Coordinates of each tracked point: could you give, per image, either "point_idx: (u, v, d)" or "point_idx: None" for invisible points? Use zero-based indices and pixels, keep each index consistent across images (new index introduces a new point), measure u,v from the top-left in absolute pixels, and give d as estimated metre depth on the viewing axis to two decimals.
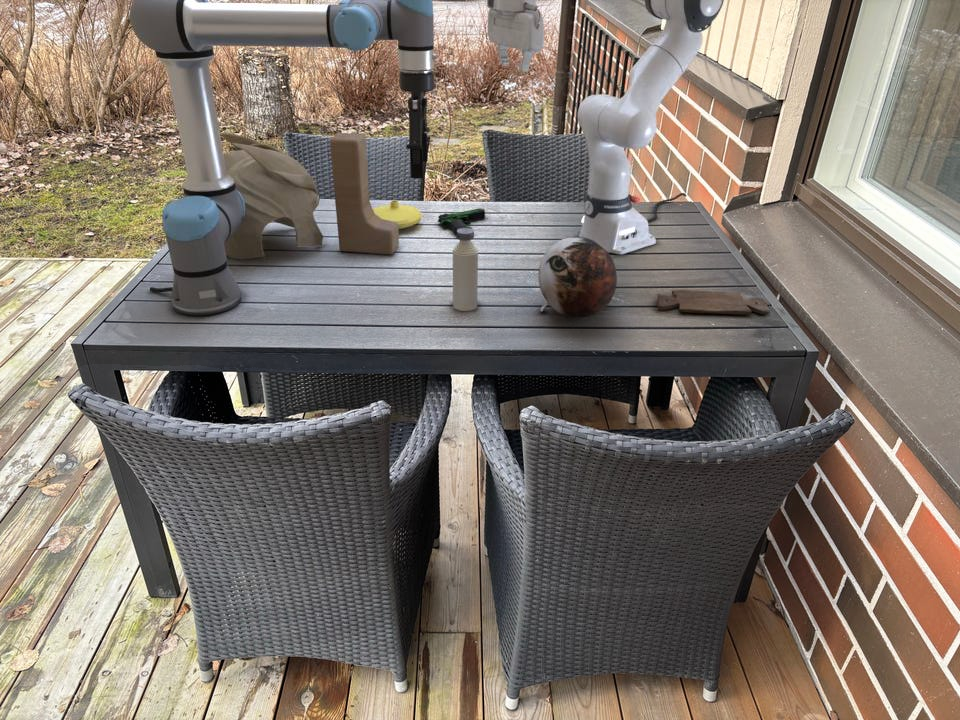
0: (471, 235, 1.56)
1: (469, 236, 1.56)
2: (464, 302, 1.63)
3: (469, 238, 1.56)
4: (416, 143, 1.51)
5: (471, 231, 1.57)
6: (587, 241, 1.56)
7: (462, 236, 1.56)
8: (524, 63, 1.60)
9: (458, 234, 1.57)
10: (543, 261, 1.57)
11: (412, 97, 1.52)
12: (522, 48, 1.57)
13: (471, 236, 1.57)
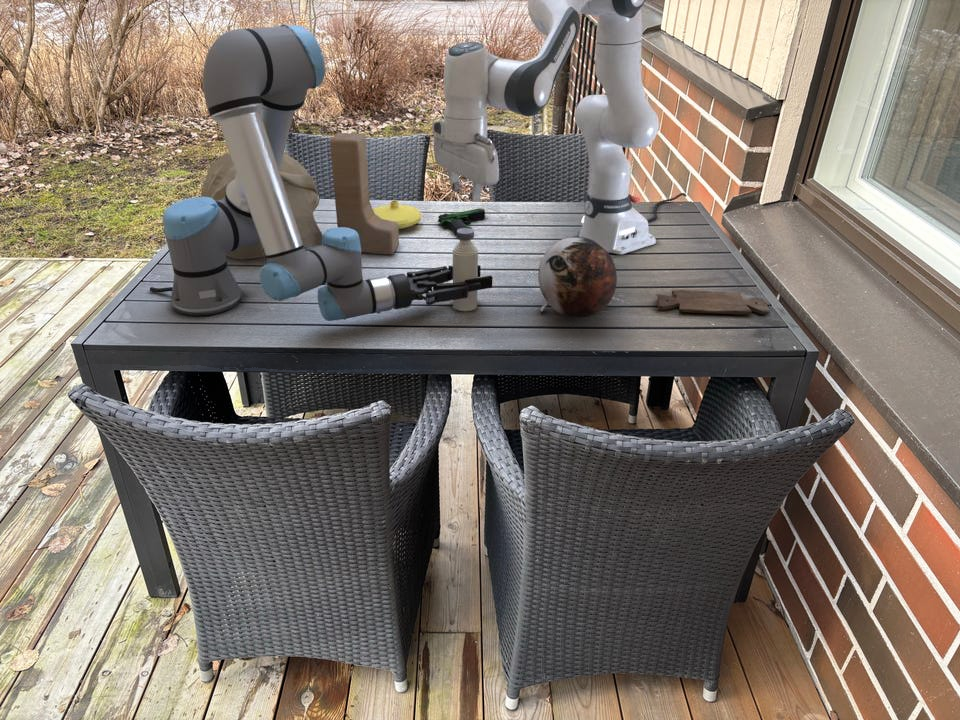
0: (471, 235, 1.56)
1: (469, 236, 1.56)
2: (464, 302, 1.63)
3: (469, 238, 1.56)
4: None
5: (471, 231, 1.57)
6: (587, 241, 1.56)
7: (462, 236, 1.56)
8: (475, 193, 1.49)
9: (458, 234, 1.57)
10: (543, 261, 1.57)
11: None
12: (475, 181, 1.45)
13: (471, 236, 1.57)
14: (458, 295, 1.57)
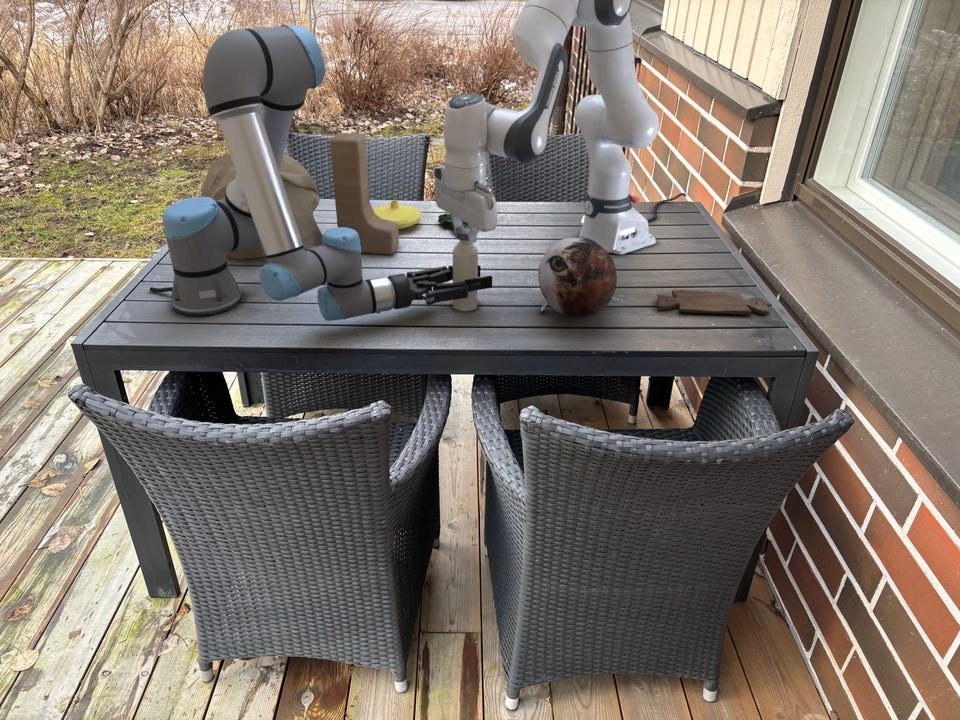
0: None
1: None
2: (464, 302, 1.63)
3: None
4: None
5: None
6: (587, 241, 1.56)
7: (462, 236, 1.56)
8: (471, 235, 1.55)
9: (458, 234, 1.57)
10: (543, 261, 1.57)
11: None
12: (475, 226, 1.50)
13: None
14: (458, 295, 1.57)
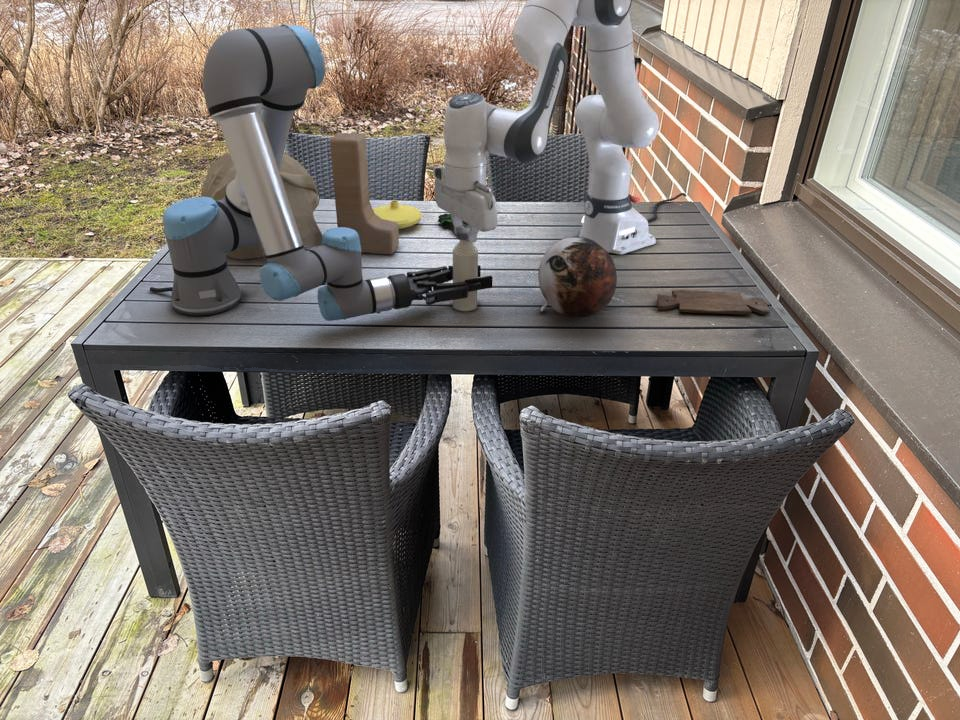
0: None
1: None
2: (464, 302, 1.63)
3: None
4: None
5: (468, 228, 1.58)
6: (587, 241, 1.56)
7: None
8: (471, 235, 1.55)
9: None
10: (543, 261, 1.57)
11: None
12: (475, 226, 1.50)
13: None
14: (458, 295, 1.57)
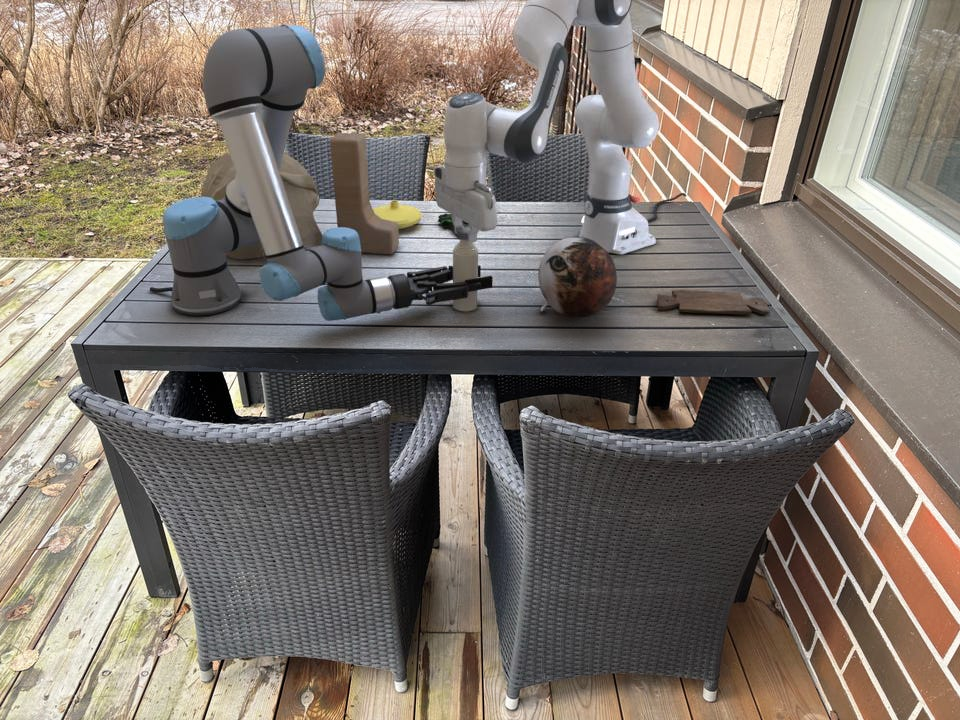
0: None
1: None
2: (464, 302, 1.63)
3: None
4: None
5: (461, 228, 1.58)
6: (587, 241, 1.56)
7: None
8: (471, 235, 1.55)
9: None
10: (543, 261, 1.57)
11: None
12: (475, 226, 1.50)
13: None
14: (458, 295, 1.57)
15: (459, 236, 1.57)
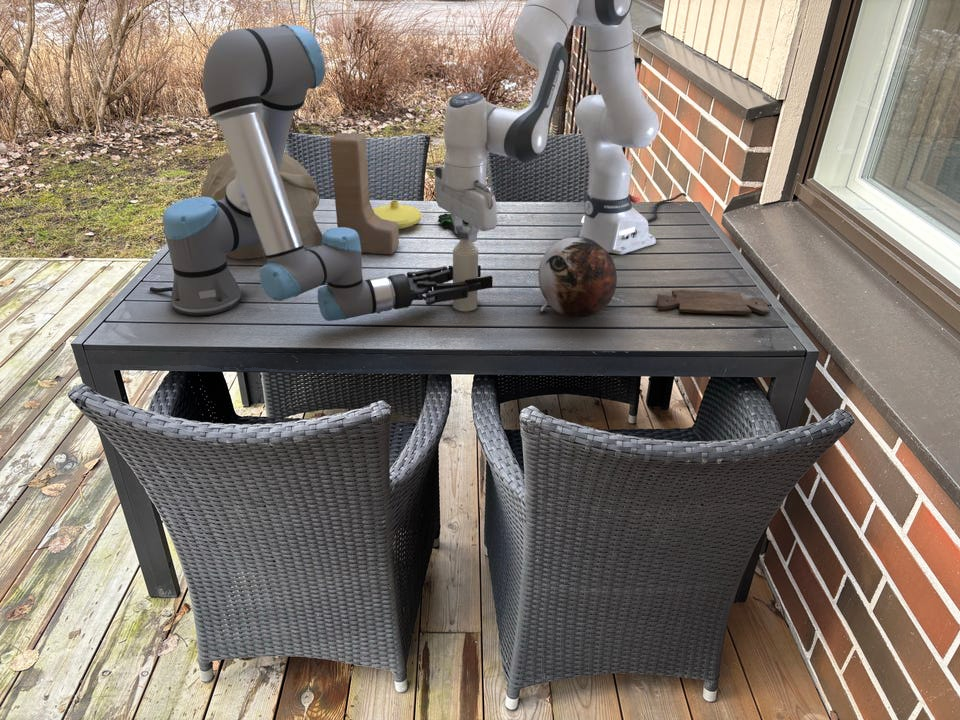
0: (457, 232, 1.57)
1: None
2: (464, 302, 1.63)
3: None
4: None
5: (459, 230, 1.57)
6: (587, 241, 1.56)
7: None
8: (471, 234, 1.54)
9: None
10: (543, 261, 1.57)
11: None
12: (474, 225, 1.50)
13: (457, 233, 1.58)
14: (458, 295, 1.57)
15: None
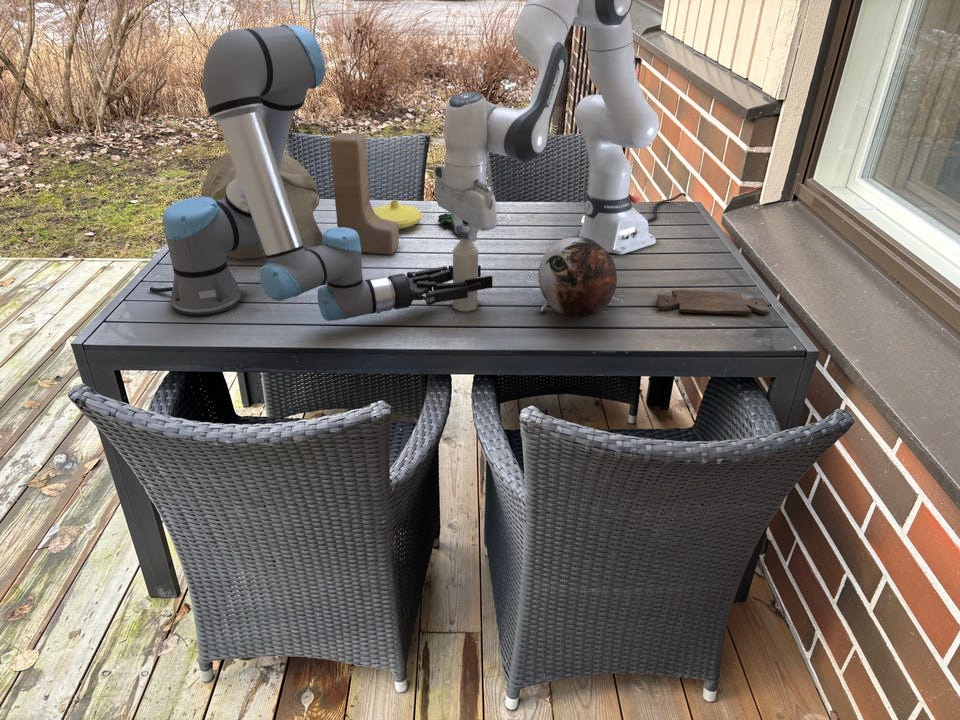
0: (463, 234, 1.56)
1: (461, 234, 1.56)
2: (464, 302, 1.63)
3: (461, 236, 1.56)
4: None
5: (466, 231, 1.56)
6: (587, 241, 1.56)
7: (457, 232, 1.57)
8: (471, 234, 1.54)
9: None
10: (543, 261, 1.57)
11: None
12: (474, 225, 1.50)
13: (463, 235, 1.56)
14: (458, 295, 1.57)
15: None
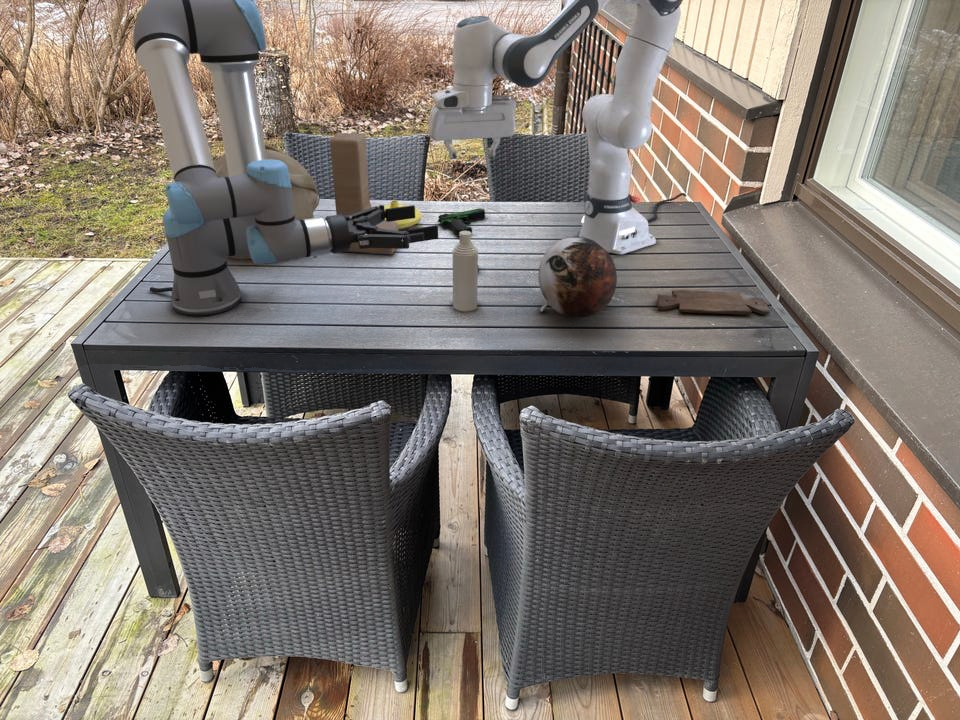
0: None
1: None
2: (463, 302, 1.63)
3: None
4: None
5: None
6: (587, 241, 1.56)
7: None
8: None
9: None
10: (543, 261, 1.57)
11: None
12: (501, 135, 1.66)
13: None
14: (396, 244, 1.42)
15: None
